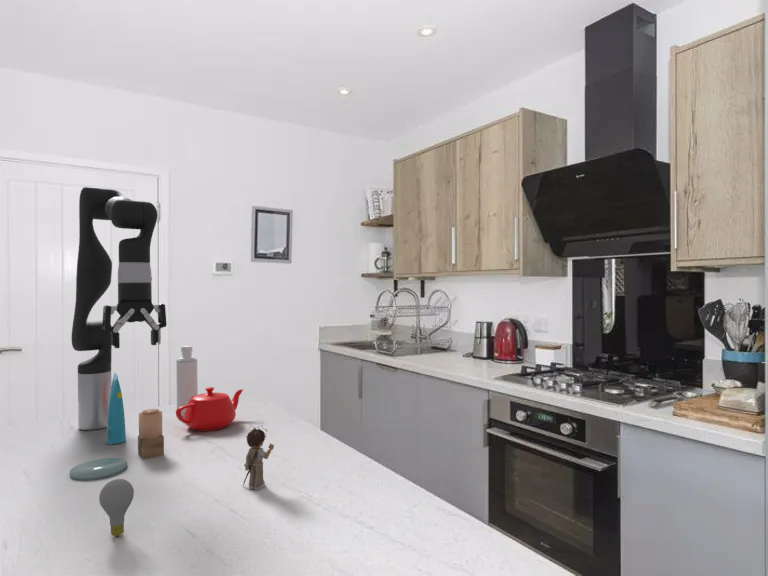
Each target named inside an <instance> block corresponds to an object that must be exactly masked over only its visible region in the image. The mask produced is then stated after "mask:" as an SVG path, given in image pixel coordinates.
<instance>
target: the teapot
mask: <svg viewBox="0 0 768 576" xmlns="http://www.w3.org/2000/svg"><path fill="white" fill-rule="evenodd" d="M214 390H215V387H213V386H209V387H205V391H206V392H205V393H200V394H198V395H195V396H193V397H191V399H190V401H189V403H188V404H187V405H184V406H181V407H179V408H178V409H177V408H176V410H175V416H176V418H177V419H178V421H180V422H181V423H183V424H185V425H186V426H187V427H188V428H191V429H192V430H194V429H195V430H194V431H198V430H200V432H210V431H211V430H212V431H217V430H221V429H224V428H226V427H227V426H229V425H230V424H232V422H234V420H235V419H236V416H237V415H236V410H237V408H238V406H239V400H240V395H241V394H242V392H243V391H244V389H243V388H242V389H238V390H236V391H235V393H234V394H233V397H232V399H231V398H230V396H229V394H228V393H225V392H224V393H223V392H213V391H214ZM185 408H186V409H185ZM183 409H185V413H184V417H182V416H181V411H182V410H183ZM209 430H210V431H209ZM212 431H211V432H212Z"/></svg>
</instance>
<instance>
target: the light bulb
mask: <svg viewBox="0 0 768 576" xmlns="http://www.w3.org/2000/svg"><path fill="white" fill-rule="evenodd" d="M134 490H135V489H134V487H133V485H132V483H131V482H130V481H128V480H127V479H124V478H116V479H112V480H109V482H107V483H105V485H104V486H103V487H102V489H101V490H100V492H99V495H98V496H99V497H98V499H99V505H100V507H101V508H102V509H103V511H104V512H105V513H106V514H107V516H108V519H109V526H110V535H111V536H113V537H116V538H117V537H120V536H121V535H123V534H124V533H125V515H126V513H127V511H128V509H129V508H130V506H131V504H132V502H133V499H134V496H135V491H134Z"/></svg>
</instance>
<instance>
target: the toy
mask: <svg viewBox="0 0 768 576" xmlns="http://www.w3.org/2000/svg"><path fill="white" fill-rule="evenodd" d="M261 420H262V419H261ZM261 420H260V421H261ZM262 421H263V420H262ZM262 424H264V423H263V422H262ZM246 426H247V424H245V425H244V426H243V428H245V427H246ZM249 428H252V425H250V426H249ZM261 428H262V429H263V430H265V431H266V432H268V429H266V428H264V426H263V425H261ZM261 428H260V427H258V428H257V427H253V428H252V429H250V431H249V432H248V433H247V435H246V437H245V439H246V443H247V445H248V447H249V448H248V452H247V454H246V456H245V464H244V468H245V469H244V470H245V471H247V474H246V476H245V478H244V480H243V484H242V487H244V485H245V483H246V481H247V478H248V477H249V480H248V489H249V490H251V489H252V490H256V491H257V490H260V489H262V488H264V487H265V486H266V482H265V479H264V462H263V459H265V460H268V459H269V456H270V455H271V452H272V450H274V448H275V444H272V443H269V445H268V450H267V451H265V450H264V447H263V445H264V442H265V440H266V438H267V436H266V433H265V432H264V431H263V430H262V429H261Z"/></svg>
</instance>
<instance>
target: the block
mask: <svg viewBox="0 0 768 576" xmlns="http://www.w3.org/2000/svg"><path fill="white" fill-rule="evenodd" d="M164 438H165V436H164V435H163V434H162V436H160V437H157V438H153V439H140V438H139V435H137V455H138V456H140V457H141V458H142V460H146V459H151V458H156V457H160V456H165V443H164V442H165V439H164Z"/></svg>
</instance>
